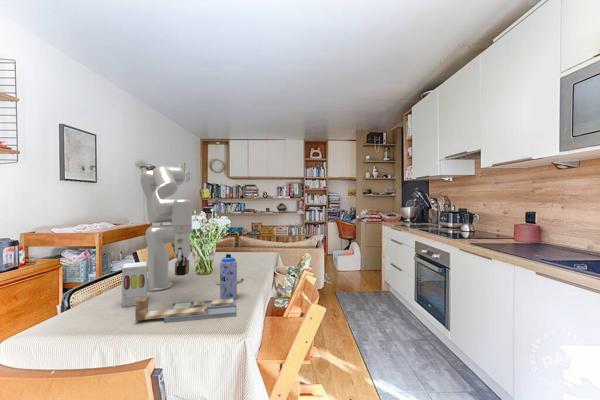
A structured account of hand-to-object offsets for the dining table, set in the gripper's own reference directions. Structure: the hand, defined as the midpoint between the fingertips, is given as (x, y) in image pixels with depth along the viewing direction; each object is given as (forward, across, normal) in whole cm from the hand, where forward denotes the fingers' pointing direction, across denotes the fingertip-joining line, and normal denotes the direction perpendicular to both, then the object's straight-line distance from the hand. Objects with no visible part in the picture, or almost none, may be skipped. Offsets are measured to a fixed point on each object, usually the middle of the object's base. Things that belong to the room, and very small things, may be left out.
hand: (182, 272), depth 120 cm
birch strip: (+14, -8, +2) cm, 16 cm away
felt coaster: (+15, 0, 0) cm, 15 cm away
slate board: (+15, -4, -8) cm, 18 cm away
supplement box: (+15, +13, +22) cm, 29 cm away
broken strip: (+15, 0, -12) cm, 20 cm away
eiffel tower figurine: (+16, +35, -19) cm, 43 cm away
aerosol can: (+15, +10, -18) cm, 26 cm away
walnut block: (0, 0, 0) cm, 0 cm away
